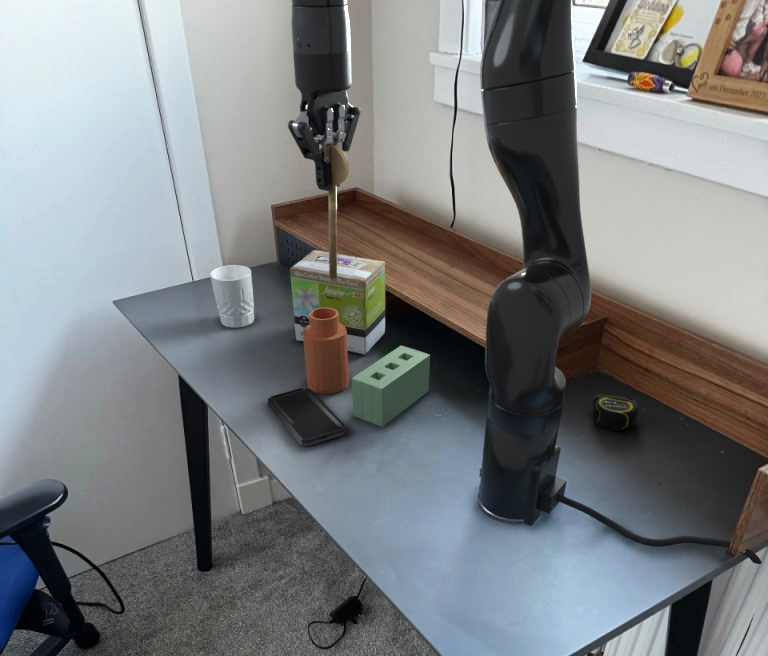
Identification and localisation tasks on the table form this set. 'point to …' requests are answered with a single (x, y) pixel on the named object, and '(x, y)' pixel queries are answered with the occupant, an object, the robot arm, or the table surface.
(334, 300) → the tea box
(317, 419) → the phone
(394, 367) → the holder
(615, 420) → the tape measure
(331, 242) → the tan flat rounded part
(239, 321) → the white cup
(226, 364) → the table surface
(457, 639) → the table surface
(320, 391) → the bottle
